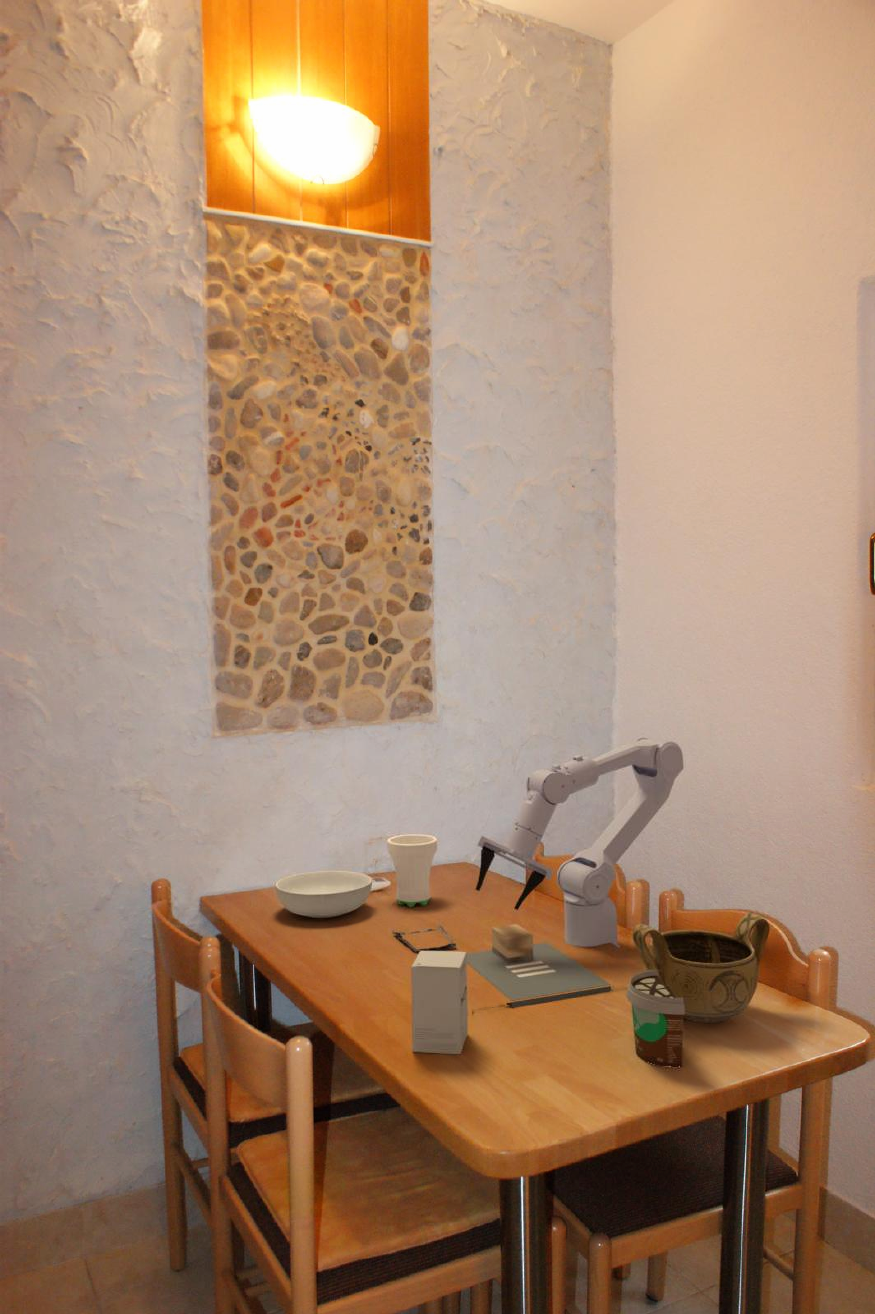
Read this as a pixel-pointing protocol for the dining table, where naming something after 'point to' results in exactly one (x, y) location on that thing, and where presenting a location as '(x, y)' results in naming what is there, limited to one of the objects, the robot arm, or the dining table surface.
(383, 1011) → the dining table surface
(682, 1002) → the food container
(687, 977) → the ceramic bowl
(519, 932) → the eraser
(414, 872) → the cup
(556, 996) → the slate board
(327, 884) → the cream oval piece
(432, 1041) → the supplement box
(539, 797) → the robot arm
